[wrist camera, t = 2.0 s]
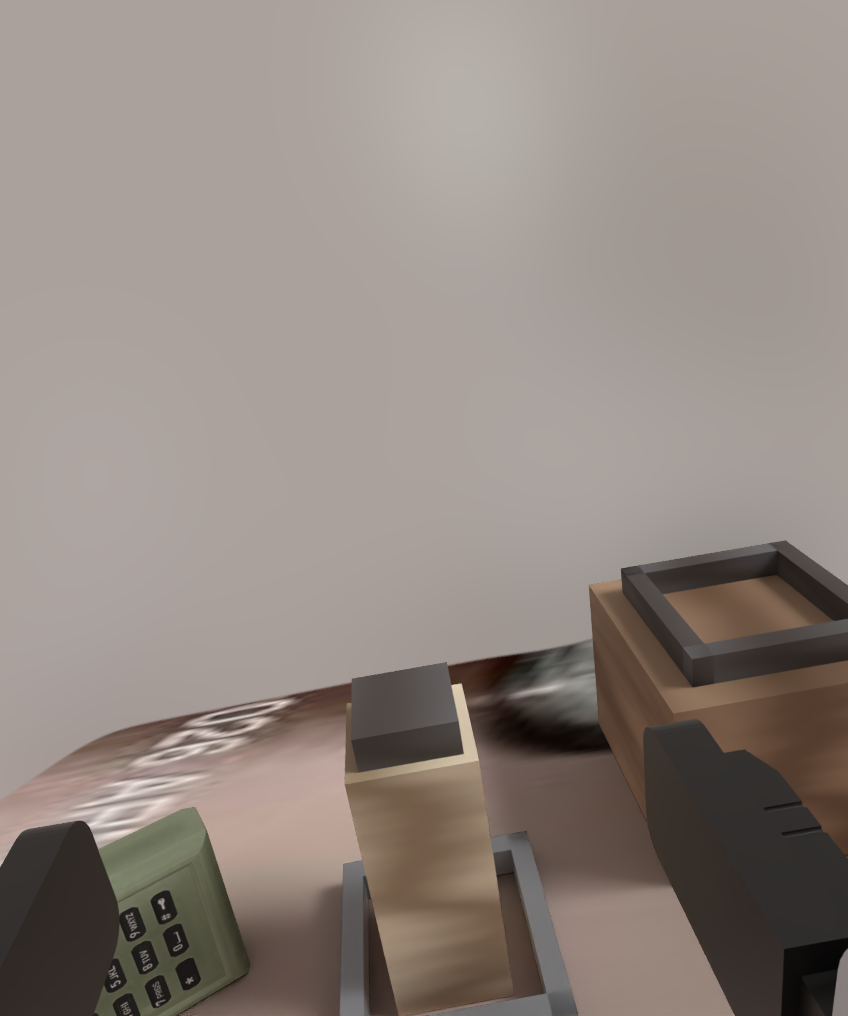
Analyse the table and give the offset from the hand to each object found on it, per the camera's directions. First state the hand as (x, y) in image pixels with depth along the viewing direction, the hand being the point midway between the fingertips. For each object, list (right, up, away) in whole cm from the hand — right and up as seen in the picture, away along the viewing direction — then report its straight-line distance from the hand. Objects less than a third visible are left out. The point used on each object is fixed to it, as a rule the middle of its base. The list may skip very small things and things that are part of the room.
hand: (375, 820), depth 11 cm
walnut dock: (+15, -7, +23) cm, 28 cm away
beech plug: (+2, -12, +17) cm, 20 cm away
